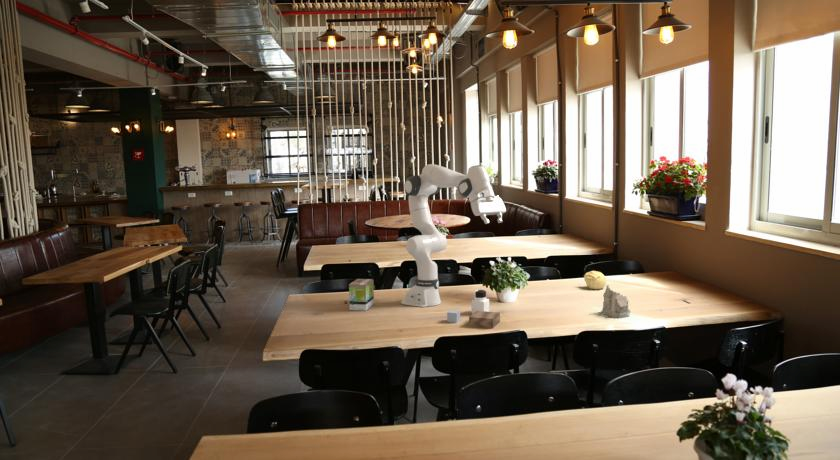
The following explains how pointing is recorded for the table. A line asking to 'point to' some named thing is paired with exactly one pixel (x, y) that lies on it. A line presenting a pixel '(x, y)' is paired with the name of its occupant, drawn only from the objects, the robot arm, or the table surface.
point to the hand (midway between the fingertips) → (493, 222)
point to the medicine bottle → (480, 301)
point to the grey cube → (453, 316)
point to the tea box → (361, 294)
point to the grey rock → (615, 304)
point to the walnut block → (484, 319)
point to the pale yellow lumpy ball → (595, 280)
